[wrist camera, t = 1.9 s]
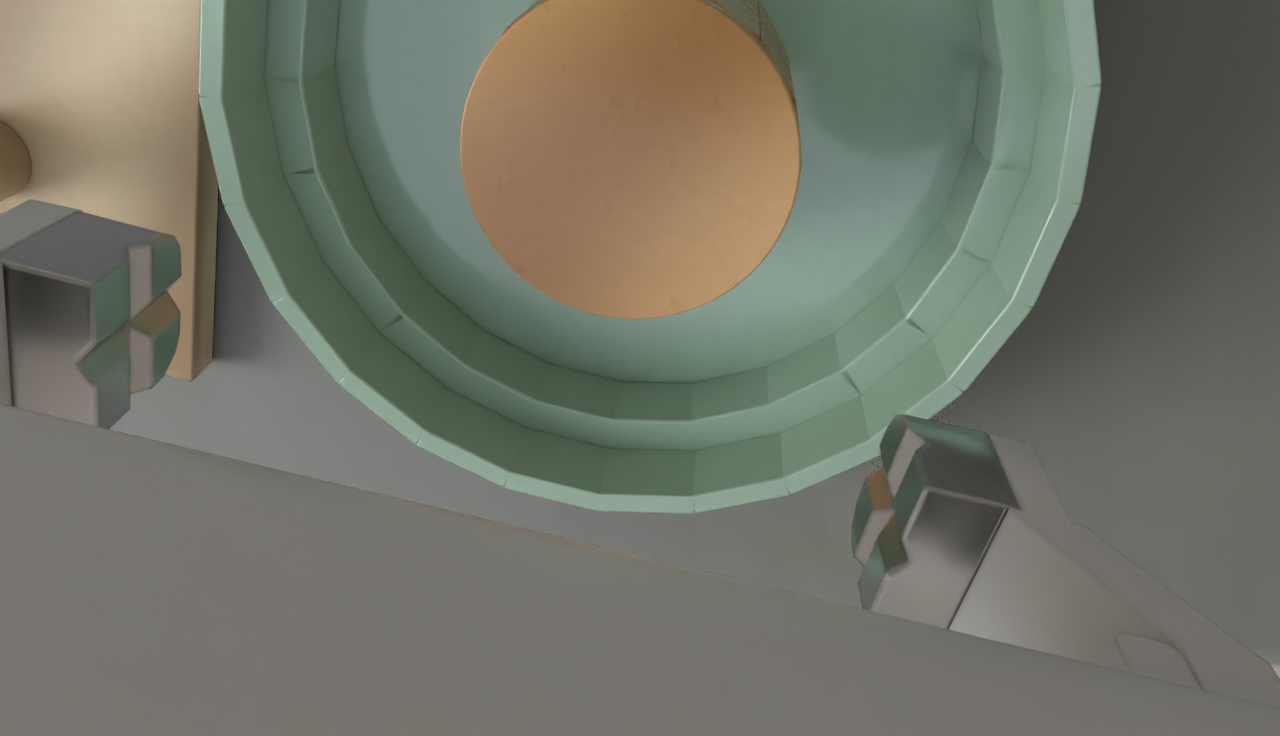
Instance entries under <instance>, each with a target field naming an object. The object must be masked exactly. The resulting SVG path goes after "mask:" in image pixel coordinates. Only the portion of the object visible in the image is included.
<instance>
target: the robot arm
mask: <svg viewBox="0 0 1280 736" xmlns="http://www.w3.org/2000/svg"><path fill="white" fill-rule="evenodd" d="M181 276H182V270H181V247H180V245H179V243H178V241H177V239H176V237H175V235H171V234H167V233H163V232H159V231H156V230H152V229H148V228H144V227H140V226H137V225H133V224H129V223H125V222H121V221H118V220H114V219H110V218H106V217H103V216H99V215H95V214H91V213H87V212H83V211H82V210H81V209H76V208H72V207H67V206H62V205H57V204H53V203H48V202H43V201H38V200H34V199H29V200H27V201H25V202H23V203H21V204H19V205H17V206H16V207H14V208H12V209H10V210H8V211H6V212H4V213H2V214H0V736H1280V679H1279V677H1278V676H1277V674H1276V673H1275V671H1274V669H1273V668H1272V666H1271V665H1270V664H1269V663H1268V662H1266V661H1265V660H1264V659H1262V658H1261V657H1260V656H1258V655H1257V654H1255V653H1254V652H1253V651H1251V650H1250V649H1249V648H1247V647H1246V646H1245V645H1243V644H1242V643H1241V642H1239V641H1238V640H1237V639H1235V638H1234V637H1233V636H1231V635H1230V634H1229V633H1227V632H1226V631H1225V630H1223V629H1222V628H1221V627H1219V626H1218V625H1217V624H1215V623H1214V622H1212V621H1211V620H1210V619H1208V618H1207V617H1206V616H1204V615H1203V614H1202V613H1200V612H1199V611H1198V610H1196V609H1195V608H1194V607H1192V606H1191V605H1190V604H1188V603H1187V602H1186V601H1184V600H1183V599H1182V598H1180V597H1179V596H1178V595H1176V594H1175V593H1174V592H1172V591H1171V590H1169V589H1168V588H1167V587H1165V586H1164V585H1163V584H1161V583H1160V582H1159V581H1157V580H1156V579H1155V578H1153V577H1152V576H1151V575H1149V574H1148V573H1147V572H1145V571H1144V570H1143V569H1141V568H1140V567H1139V566H1137V565H1136V564H1135V563H1133V562H1132V561H1131V560H1129V559H1128V558H1126V557H1125V556H1124V555H1122V554H1121V553H1120V552H1118V551H1117V550H1116V549H1114V548H1113V547H1112V546H1110V545H1109V544H1108V543H1106V542H1105V541H1104V540H1102V539H1101V538H1100V537H1098V536H1097V535H1096V534H1094V533H1093V532H1092V531H1090V530H1089V529H1088V528H1086V527H1085V526H1082V525H1078V524H1074V523H1070V521H1069V519H1068V517H1067V515H1066V513H1065V511H1064V509H1063V507H1062V505H1061V503H1060V501H1059V499H1058V497H1057V495H1056V493H1055V491H1054V489H1053V487H1052V485H1051V483H1050V481H1049V479H1048V477H1047V475H1046V473H1045V471H1044V469H1043V467H1042V465H1041V463H1040V461H1039V459H1038V457H1037V455H1036V453H1035V451H1034V449H1033V447H1032V446H1031V445H1030V444H1028V443H1026V442H1024V441H1020V440H1015V439H1010V438H1005V437H999V436H994V435H989V434H987V432H982V431H978V430H973V429H968V428H964V427H959V426H955V425H950V424H946V423H941V422H937V421H932V420H928V419H923V418H919V417H914V416H910V415H905V414H900V415H895V416H894V418H893V419H892V421H891V422H890V424H889V425H888V427H887V429H886V431H885V434H884V436H883V438H882V441H881V443H880V445H879V448H880V452H881V457H882V461H883V465H884V467H883V468H881V469H880V470H878V471H877V472H875V473H874V474H872V475H871V476H869V477H867V478H866V480H865V482H864V485H863V488H862V490H861V493H860V496H859V498H858V501H857V504H856V509H855V514H854V518H853V523H852V541H851V542H852V549H853V556H854V558H855V559H856V560H857V561H858V562H859V563H860V564H861V565H862V566H863V567H864V570H863V572H862V575H861V577H860V579H859V582H858V586H859V591H860V597H861V602H862V608H863V609H860V608H856V607H852V606H848V605H843V604H839V603H835V602H831V601H827V600H822V599H818V598H814V597H810V596H806V595H801V594H797V593H793V592H789V591H784V590H780V589H776V588H772V587H768V586H763V585H759V584H755V583H751V582H747V581H742V580H738V579H734V578H730V577H726V576H721V575H717V574H713V573H709V572H705V571H700V570H696V569H692V568H688V567H684V566H679V565H675V564H671V563H667V562H663V561H659V560H654V559H650V558H646V557H642V556H638V555H633V554H629V553H625V552H621V551H617V550H612V549H608V548H604V547H600V546H596V545H591V544H587V543H583V542H579V541H575V540H571V539H566V538H562V537H558V536H554V535H550V534H545V533H541V532H537V531H533V530H529V529H524V528H520V527H516V526H512V525H508V524H504V523H499V522H495V521H491V520H487V519H483V518H478V517H474V516H470V515H466V514H462V513H457V512H453V511H449V510H445V509H441V508H436V507H432V506H428V505H424V504H420V503H416V502H411V501H407V500H403V499H399V498H395V497H390V496H386V495H382V494H378V493H374V492H369V491H365V490H361V489H357V488H353V487H348V486H344V485H340V484H336V483H332V482H328V481H323V480H319V479H315V478H311V477H307V476H302V475H298V474H294V473H290V472H286V471H281V470H277V469H273V468H269V467H265V466H261V465H256V464H252V463H248V462H244V461H240V460H235V459H231V458H227V457H223V456H219V455H214V454H210V453H206V452H202V451H198V450H193V449H189V448H185V447H181V446H177V445H173V444H168V443H164V442H160V441H156V440H152V439H147V438H143V437H139V436H135V435H131V434H126V433H122V432H118V431H114V430H110V429H109V428H111V427H112V426H113V425H114V424H115V423H116V422H117V421H118V420H119V419H120V418H121V417H122V416H123V415H124V414H125V413H126V412H127V411H129V410H130V394H134V393H137V392H141V391H144V390H148V389H152V388H153V387H154V386H155V385H156V383H157V382H158V381H159V380H160V379H161V378H162V377H163V376H164V375H165V374H166V372H167V370H168V368H169V366H170V364H171V361H172V359H173V357H174V355H175V353H176V349H177V344H178V340H179V335H180V320H181V312H180V310H179V308H178V307H177V305H176V304H175V302H174V300H173V299H172V297H171V296H170V294H169V292H168V291H167V290H168V289H169V288H170V287H171V286H172V285H173V284H174V283H175V282H176V281H177V280H178V279H179V278H180V277H181Z"/></svg>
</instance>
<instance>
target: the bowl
mask: <svg viewBox="0 0 1280 736" xmlns="http://www.w3.org/2000/svg"><path fill="white" fill-rule="evenodd" d="M537 1H538V0H201V10H200V50H199V91H198V93H199V95H200V96H199V101H200V106H201V110H202V115H203V119H204V123H205V128H206V132H207V136H208V141H209V145H210V150H211V154H212V158H213V163H214V167H215V171H216V176H217V180H218V185H219V189H220V193H221V198H222V202H223V204H224V205H225V210H226V212H227V214H228V216H229V218H230V220H231V222H232V224H233V226H234V228H235V230H236V232H237V234H238V236H239V238H240V240H241V242H242V244H243V246H244V248H245V250H246V252H247V254H248V256H249V258H250V260H251V262H252V264H253V266H254V268H255V270H256V272H257V274H258V276H259V278H260V280H261V282H262V285H263V287H264V289H265V291H266V293H267V295H268V297H269V299H270V300H271V301H273V305H274V306H275V307H276V309H277V310H278V311H279V312H280V314H281V315H282V316H283V317H284V318H285V320H286V321H287V322H288V323H289V325H290V326H291V327H292V328H293V329H294V331H295V332H296V333H297V334H298V336H299V337H300V338H301V339H302V340H303V342H304V343H305V344H306V345H307V347H308V348H309V349H310V350H311V351H312V353H313V354H314V355H315V356H316V358H317V359H318V360H319V361H320V363H321V364H322V365H323V366H324V367H325V369H326V370H327V371H328V372H329V374H330V375H331V376H332V377H333V378H334V380H335V381H339V382H338V383H339V385H341V386H342V387H343V388H344V389H346V390H347V391H348V392H349V393H351V394H352V395H353V396H355V397H356V398H357V399H358V400H360V401H361V402H362V403H363V404H365V405H366V406H367V407H368V408H370V409H371V410H372V411H374V412H375V413H376V414H377V415H379V416H380V417H381V418H382V419H384V420H385V421H386V422H388V423H389V424H390V425H391V426H393V427H394V428H395V429H396V430H398V431H399V432H400V433H401V434H403V435H404V436H405V437H407V438H408V439H409V440H410V441H412V442H413V443H415V444H416V443H417V445H418V446H419V447H421V448H423V449H425V450H427V451H430V452H432V453H434V454H436V455H438V456H440V457H442V458H444V459H446V460H448V461H450V462H452V463H454V464H456V465H458V466H460V467H462V468H464V469H466V470H469V471H471V472H473V473H475V474H477V475H479V476H481V477H483V478H485V479H487V480H489V481H491V482H493V483H495V484H497V485H499V486H501V487H504V486H505V488H506V489H510V490H514V491H518V492H522V493H526V494H530V495H535V496H539V497H543V498H547V499H551V500H555V501H559V502H563V503H567V504H571V505H575V506H579V507H583V508H587V509H592V510H596V511H597V510H599V511H611V512H648V513H686V514H693V513H694V512H695V513H700V512H705V511H710V510H716V509H721V508H726V507H731V506H736V505H741V504H747V503H752V502H757V501H762V500H767V499H772V498H778V497H783V496H788V495H790V493H791V494H794V493H796V492H799V491H801V490H803V489H805V488H808V487H810V486H812V485H814V484H817V483H819V482H821V481H823V480H826V479H828V478H830V477H833V476H835V475H837V474H839V473H842V472H844V471H846V470H848V469H851V468H853V467H855V466H857V465H860V464H862V463H864V462H867V461H869V460H871V459H873V458H876V457H878V456H880V455H881V452H880V448H879V445H880V443H881V441H882V438H883V436H884V434H885V431H886V429H887V427H888V425H889V424H890V422H891V421H892V419H893V418H894V416H895V415H900V414H905V415H910V416H914V417H919V418H923V419H928V420H929V419H930V418H931V417H933V416H934V415H935V414H937V413H938V412H939V411H941V410H942V409H943V408H945V407H946V406H947V405H948V404H950V403H951V402H952V401H954V400H955V399H956V398H958V397H959V396H960V395H962V394H963V393H964V391H966V390H967V389H968V388H969V386H970V385H971V384H972V383H973V381H974V380H975V379H976V378H977V377H978V375H979V374H980V373H981V372H982V370H983V369H984V368H985V367H986V365H987V364H988V363H989V362H990V361H991V359H992V358H993V357H994V356H995V354H996V353H997V352H998V351H999V350H1000V348H1001V347H1002V346H1003V345H1004V343H1005V342H1006V341H1007V340H1008V338H1009V337H1010V336H1011V335H1012V334H1013V332H1014V331H1015V330H1016V329H1017V327H1018V326H1019V325H1020V324H1021V322H1022V321H1023V320H1024V319H1025V318H1026V316H1027V315H1028V314H1029V313H1030V311H1031V310H1032V307H1033V306H1034V305H1035V303H1036V301H1037V299H1038V297H1039V294H1040V292H1041V290H1042V288H1043V286H1044V284H1045V281H1046V279H1047V277H1048V275H1049V273H1050V271H1051V268H1052V266H1053V264H1054V262H1055V260H1056V258H1057V255H1058V253H1059V251H1060V249H1061V247H1062V245H1063V242H1064V240H1065V238H1066V236H1067V234H1068V232H1069V229H1070V227H1071V225H1072V223H1073V221H1074V219H1075V216H1076V214H1077V212H1078V210H1079V208H1080V204H1079V203H1081V202H1082V198H1083V192H1084V186H1085V180H1086V174H1087V169H1088V163H1089V157H1090V151H1091V145H1092V140H1093V134H1094V128H1095V122H1096V116H1097V111H1098V105H1099V99H1100V93H1101V85H1100V84H1101V83H1102V76H1101V67H1100V57H1099V47H1098V37H1097V27H1096V18H1095V8H1094V0H758V3H761V4H762V6H763V8H764V10H765V12H766V13H767V15H768V17H769V19H770V21H771V23H772V25H773V26H774V28H775V30H776V32H777V34H778V36H779V38H780V39H781V41H782V43H783V45H784V47H785V49H786V53H787V55H788V60H789V65H790V71H791V76H792V81H793V87H794V92H795V97H796V103H797V113H798V124H799V133H800V139H801V155H802V164H801V172H800V179H799V186H798V190H797V194H796V198H795V202H794V206H793V209H792V211H791V214H790V216H789V219H788V221H787V224H786V226H785V228H784V230H783V232H782V233H781V235H780V237H779V239H778V241H777V242H776V244H775V246H774V247H773V248H772V250H771V251H770V252H769V254H768V255H767V256H766V258H765V259H764V260H763V262H762V263H761V264H760V265H759V266H758V267H757V268H756V269H755V270H754V271H753V272H752V273H751V274H750V275H749V276H748V277H747V278H746V279H744V280H743V281H742V282H741V283H739V284H738V285H737V286H736V287H734V288H733V289H732V290H730V291H728V292H727V293H725V294H724V295H722V296H720V297H719V298H717V299H715V300H713V301H711V302H709V303H707V304H704V305H702V306H700V307H698V308H695V309H692V310H689V311H686V312H683V313H679V314H676V315H671V316H665V317H659V318H652V319H621V318H611V317H605V316H600V315H595V314H591V313H588V312H584V311H581V310H578V309H575V308H572V307H570V306H568V305H565V304H563V303H561V302H559V301H557V300H554V299H553V298H551V297H549V296H548V295H546V294H544V293H543V292H541V291H539V290H538V289H536V288H535V287H533V286H532V285H531V284H529V283H528V282H527V281H526V280H524V279H523V278H522V277H520V276H519V275H518V274H517V273H516V272H515V271H514V270H513V269H512V268H511V267H510V266H509V265H508V264H507V263H506V262H505V261H504V260H503V259H502V257H501V256H500V255H499V254H498V252H497V251H496V250H495V249H494V247H493V246H492V245H491V243H490V242H489V240H488V239H487V237H486V235H485V234H484V232H483V230H482V229H481V227H480V225H479V223H478V221H477V219H476V217H475V215H474V212H473V210H472V208H471V206H470V203H469V199H468V196H467V193H466V190H465V187H464V182H463V176H462V171H461V165H460V147H459V140H460V128H461V119H462V115H463V110H464V105H465V101H466V98H467V95H468V92H469V89H470V87H471V84H472V81H473V79H474V77H475V75H476V73H477V71H478V69H479V67H480V65H481V64H482V62H483V60H484V58H485V57H486V55H487V54H488V53H489V51H490V50H491V49H492V47H493V46H494V44H495V43H496V42H497V40H498V39H499V38H500V37H501V35H502V34H503V32H504V31H505V29H506V28H507V27H508V26H509V25H510V24H511V22H513V21H514V20H515V19H516V18H517V17H519V16H520V15H521V14H522V13H524V12H525V11H526V10H527V9H528V8H530V7H531V6H532V5H533V4H534V3H536V2H537Z"/></svg>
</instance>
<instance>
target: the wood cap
mask: <svg viewBox="0 0 1280 736" xmlns="http://www.w3.org/2000/svg"><path fill="white" fill-rule="evenodd" d="M459 147H460V165H461V171H462V176H463V182H464V187H465V190H466V193H467V196H468V199H469V203H470V206H471V208H472V210H473V212H474V215H475V217H476V219H477V221H478V223H479V225H480V227H481V229H482V230H483V232H484V234H485V235H486V237H487V239H488V240H489V242H490V243H491V245H492V246H493V247H494V249H495V250H496V251H497V252H498V254H499V255H500V256H501V257H502V259H503V260H504V261H505V262H506V263H507V264H508V265H509V266H510V267H511V268H512V269H513V270H514V271H515V272H516V273H517V274H518V275H519V276H520V277H522V278H523V279H524V280H526V281H527V282H528V283H529V284H531V285H532V286H533V287H535V288H536V289H538V290H539V291H541V292H543V293H544V294H546V295H548V296H549V297H551V298H553V299H554V300H557V301H559V302H561V303H563V304H565V305H568V306H570V307H572V308H575V309H578V310H581V311H584V312H588V313H591V314H595V315H600V316H605V317H611V318H621V319H652V318H659V317H665V316H671V315H676V314H679V313H683V312H686V311H689V310H692V309H695V308H698V307H700V306H702V305H704V304H707V303H709V302H711V301H713V300H715V299H717V298H719V297H720V296H722V295H724V294H725V293H727V292H728V291H730V290H732V289H733V288H734V287H736V286H737V285H738V284H739V283H741V282H742V281H743V280H744V279H746V278H747V277H748V276H749V275H750V274H751V273H752V272H753V271H754V270H755V269H756V268H757V267H758V266H759V265H760V264H761V263H762V262H763V260H764V259H765V258H766V256H767V255H768V254H769V252H770V251H771V250H772V248H773V247H774V246H775V244H776V242H777V241H778V239H779V237H780V235H781V233H782V232H783V230H784V228H785V226H786V224H787V221H788V219H789V216H790V214H791V211H792V209H793V206H794V202H795V198H796V194H797V190H798V186H799V179H800V172H801V164H802V155H801V139H800V133H799V124H798V113H797V103H796V97H795V92H794V87H793V81H792V76H791V71H790V65H789V60H788V55H787V53H786V49H785V47H784V45H783V43H782V41H781V39H780V38H779V36H778V34H777V32H776V30H775V28H774V26H773V25H772V23H771V21H770V19H769V17H768V15H767V13H766V12H765V10H764V8H763V6H762V4H761V3H758V0H538V1H537V2H536V3H534V4H533V5H532V6H531V7H530V8H528V9H527V10H526V11H525V12H524V13H522V14H521V15H520V16H519V17H517V18H516V19H515V20H514V21H513V22H511V24H510V25H509V26H508V27H507V28H506V29H505V31H504V32H503V34H502V35H501V37H500V38H499V39H498V40H497V42H496V43H495V44H494V46H493V47H492V49H491V50H490V51H489V53H488V54H487V55H486V57H485V58H484V60H483V62H482V64H481V65H480V67H479V69H478V71H477V73H476V75H475V77H474V79H473V81H472V84H471V87H470V89H469V92H468V95H467V98H466V101H465V105H464V110H463V115H462V119H461V128H460V140H459Z"/></svg>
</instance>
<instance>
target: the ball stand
mask: <svg viewBox="0 0 1280 736" xmlns="http://www.w3.org/2000/svg"><path fill="white" fill-rule="evenodd" d="M200 10H201V0H0V214H2V213H4V212H6V211H8V210H10V209H12V208H14V207H16V206H17V205H19V204H21V203H23V202H25V201H27V200H29V199H34V200H38V201H43V202H48V203H53V204H57V205H62V206H67V207H72V208H76V209H81V210H82V211H83V212H87V213H91V214H95V215H99V216H103V217H106V218H110V219H114V220H118V221H121V222H125V223H129V224H133V225H137V226H140V227H144V228H148V229H152V230H156V231H159V232H163V233H167V234H171V235H175V237H176V239H177V241H178V243H179V245H180V247H181V270H182V276H181V277H180V278H179V279H178V280H177V281H176V282H175V283H174V284H173V285H172V286H171V287H170V288H169V289H168V290H167V291H168V292H169V294H170V296H171V297H172V299H173V300H174V302H175V304H176V305H177V307H178V308H179V310H180V312H181V320H180V335H179V340H178V344H177V349H176V353H175V355H174V357H173V359H172V361H171V364H170V366H169V368H168V370H167V372H166V374H165V375H166V376H171V377H175V378H179V379H183V380H187V381H193V380H194V379H195V378H196V377H197V376H198V375H199V374H200V373H201V372H202V371H203V370H204V369H205V368H206V367H207V366H208V365H209V364H210V363H211V362H212V350H213V322H214V294H215V266H216V238H217V209H218V180H217V176H216V171H215V167H214V163H213V158H212V154H211V150H210V145H209V141H208V136H207V132H206V128H205V123H204V119H203V115H202V110H201V106H200V101H199V96H200V95H199V93H198V91H199V50H200Z"/></svg>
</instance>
